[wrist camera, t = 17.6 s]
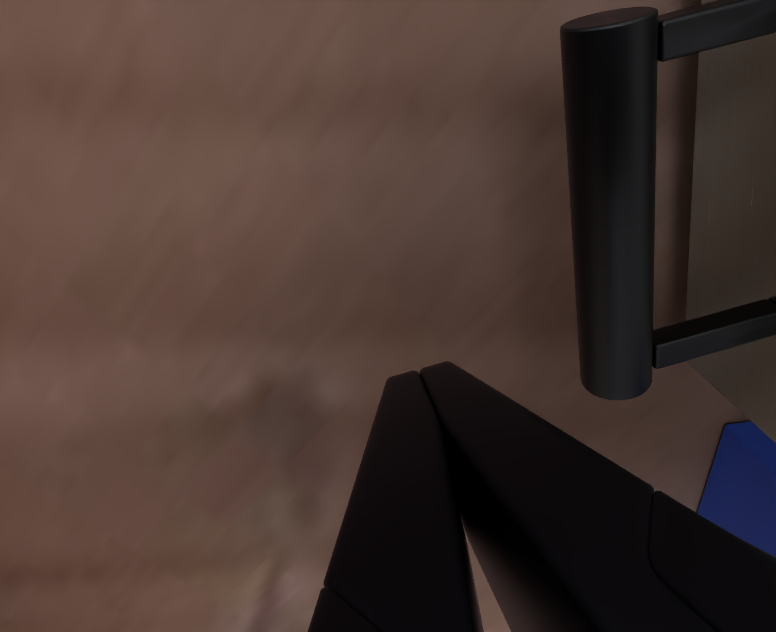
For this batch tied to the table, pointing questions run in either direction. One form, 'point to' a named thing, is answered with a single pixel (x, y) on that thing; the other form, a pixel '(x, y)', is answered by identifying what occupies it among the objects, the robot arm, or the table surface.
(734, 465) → the carton
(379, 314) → the table surface
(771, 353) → the drawer
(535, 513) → the robot arm
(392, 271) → the table surface
